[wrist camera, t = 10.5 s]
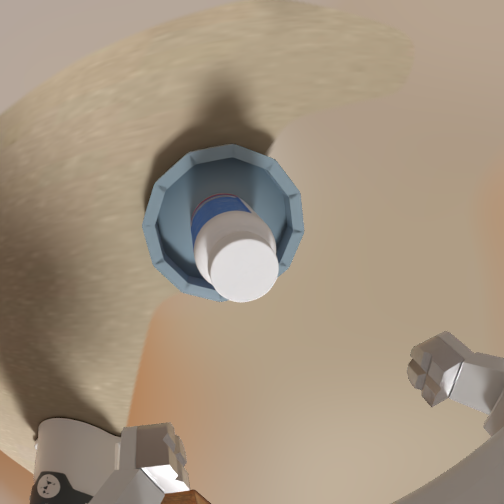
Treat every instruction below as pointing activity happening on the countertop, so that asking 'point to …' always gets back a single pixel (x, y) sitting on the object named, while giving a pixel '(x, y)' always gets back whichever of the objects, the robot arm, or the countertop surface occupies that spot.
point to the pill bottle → (233, 248)
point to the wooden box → (184, 498)
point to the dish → (209, 183)
